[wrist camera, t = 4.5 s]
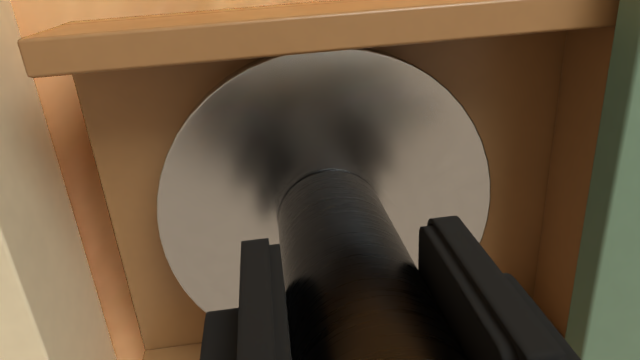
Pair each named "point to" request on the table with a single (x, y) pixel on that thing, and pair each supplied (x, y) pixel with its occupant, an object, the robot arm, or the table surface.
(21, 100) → the drawer
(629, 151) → the cabinet
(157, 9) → the table surface
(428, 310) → the black rod on disc
